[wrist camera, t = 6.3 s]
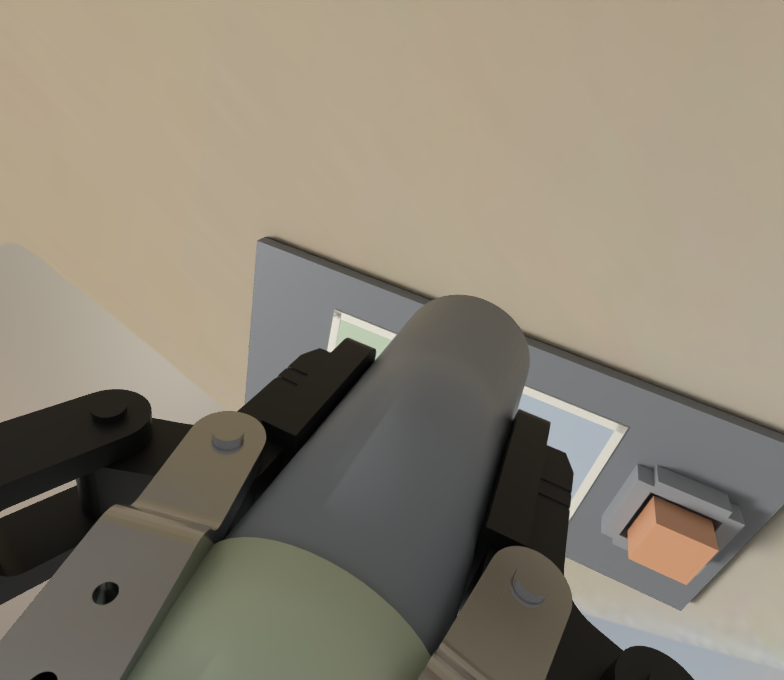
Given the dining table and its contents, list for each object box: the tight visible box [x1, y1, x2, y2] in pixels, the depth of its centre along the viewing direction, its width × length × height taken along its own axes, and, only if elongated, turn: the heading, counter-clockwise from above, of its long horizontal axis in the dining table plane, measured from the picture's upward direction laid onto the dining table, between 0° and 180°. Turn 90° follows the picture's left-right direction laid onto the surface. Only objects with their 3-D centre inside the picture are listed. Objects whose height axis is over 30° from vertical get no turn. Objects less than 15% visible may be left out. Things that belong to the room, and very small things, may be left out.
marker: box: [127, 295, 530, 680], centre depth 9 cm, size 4×4×11 cm
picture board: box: [245, 237, 784, 611], centre depth 36 cm, size 38×16×3 cm, turn 77°
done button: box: [628, 496, 719, 585], centre depth 32 cm, size 4×4×2 cm
